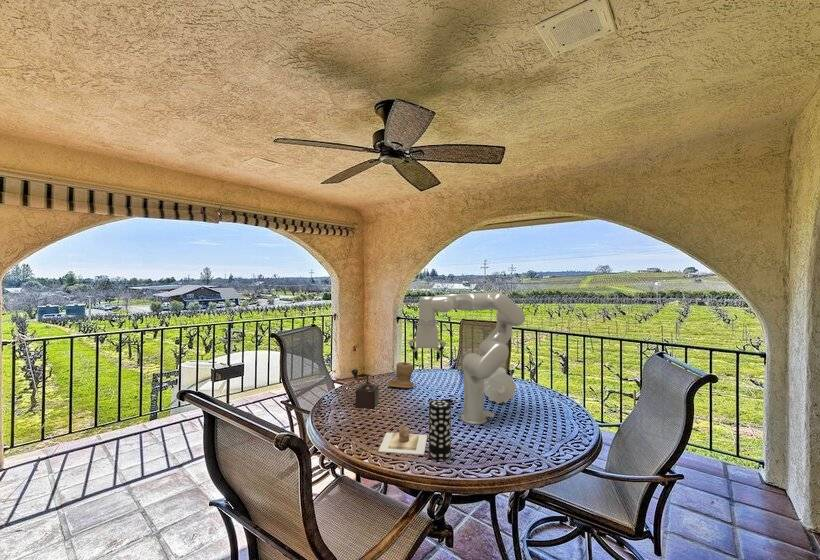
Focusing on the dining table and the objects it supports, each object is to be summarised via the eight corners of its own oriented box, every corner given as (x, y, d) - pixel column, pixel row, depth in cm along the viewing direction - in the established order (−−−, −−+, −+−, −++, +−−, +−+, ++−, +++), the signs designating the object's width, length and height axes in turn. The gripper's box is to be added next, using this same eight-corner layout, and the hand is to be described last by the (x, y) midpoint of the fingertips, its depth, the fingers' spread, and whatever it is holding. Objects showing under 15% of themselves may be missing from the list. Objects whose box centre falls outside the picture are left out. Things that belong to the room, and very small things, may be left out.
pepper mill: (379, 401, 186) (379, 369, 186) (374, 409, 175) (374, 374, 175) (352, 399, 188) (352, 367, 188) (345, 407, 178) (345, 373, 177)
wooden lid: (418, 437, 144) (418, 423, 144) (415, 450, 133) (415, 435, 133) (393, 435, 146) (393, 421, 146) (388, 448, 135) (388, 433, 135)
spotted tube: (448, 449, 135) (448, 399, 135) (452, 460, 127) (452, 407, 126) (428, 449, 135) (428, 399, 134) (429, 461, 126) (430, 407, 126)
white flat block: (427, 435, 146) (427, 434, 146) (423, 455, 130) (423, 454, 130) (386, 433, 149) (386, 432, 149) (378, 452, 133) (378, 451, 133)
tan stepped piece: (415, 384, 215) (415, 361, 215) (411, 390, 204) (411, 365, 204) (392, 382, 219) (393, 359, 219) (387, 388, 208) (387, 364, 207)
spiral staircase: (497, 397, 204) (509, 411, 179) (471, 384, 205) (479, 397, 180) (510, 369, 205) (524, 380, 180) (484, 357, 205) (494, 366, 180)
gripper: (446, 322, 158) (446, 358, 159) (409, 321, 161) (409, 357, 161) (445, 324, 151) (445, 363, 151) (407, 324, 153) (407, 361, 153)
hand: (427, 360), depth 156 cm, fingers open, 9 cm apart
